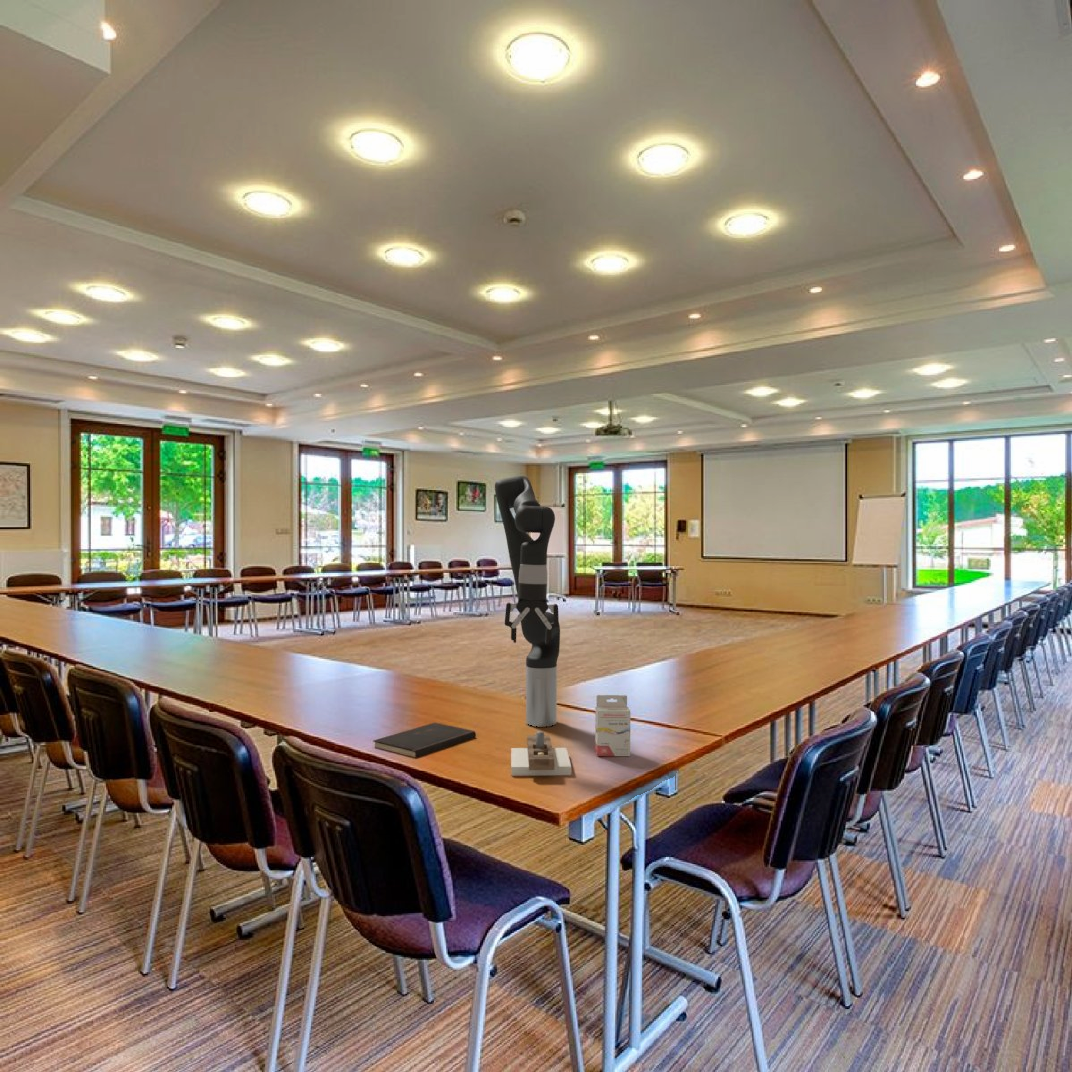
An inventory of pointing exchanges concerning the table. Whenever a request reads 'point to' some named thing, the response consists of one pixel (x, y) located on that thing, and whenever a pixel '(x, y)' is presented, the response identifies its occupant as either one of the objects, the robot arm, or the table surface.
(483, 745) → the table surface
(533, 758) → the walnut bar
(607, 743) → the ink cartridge box
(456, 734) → the hardcover book
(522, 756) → the post base
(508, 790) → the table surface
